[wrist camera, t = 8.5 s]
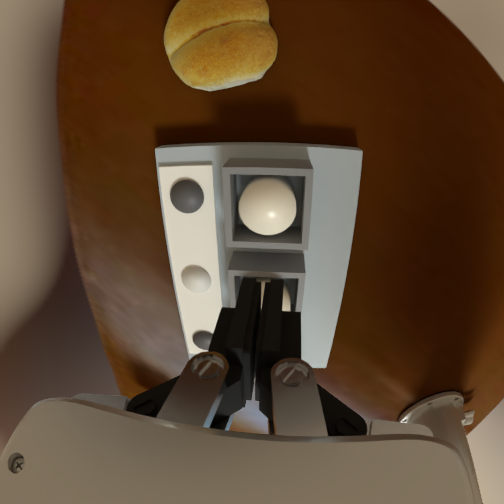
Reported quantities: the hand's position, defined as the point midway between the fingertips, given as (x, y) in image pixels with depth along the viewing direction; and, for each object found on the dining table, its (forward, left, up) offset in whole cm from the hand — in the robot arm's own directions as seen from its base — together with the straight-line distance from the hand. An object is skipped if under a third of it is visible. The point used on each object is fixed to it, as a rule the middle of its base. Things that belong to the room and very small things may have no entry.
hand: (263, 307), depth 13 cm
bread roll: (+4, -13, -15) cm, 20 cm away
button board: (+1, +8, -14) cm, 16 cm away
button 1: (0, 0, -12) cm, 12 cm away
